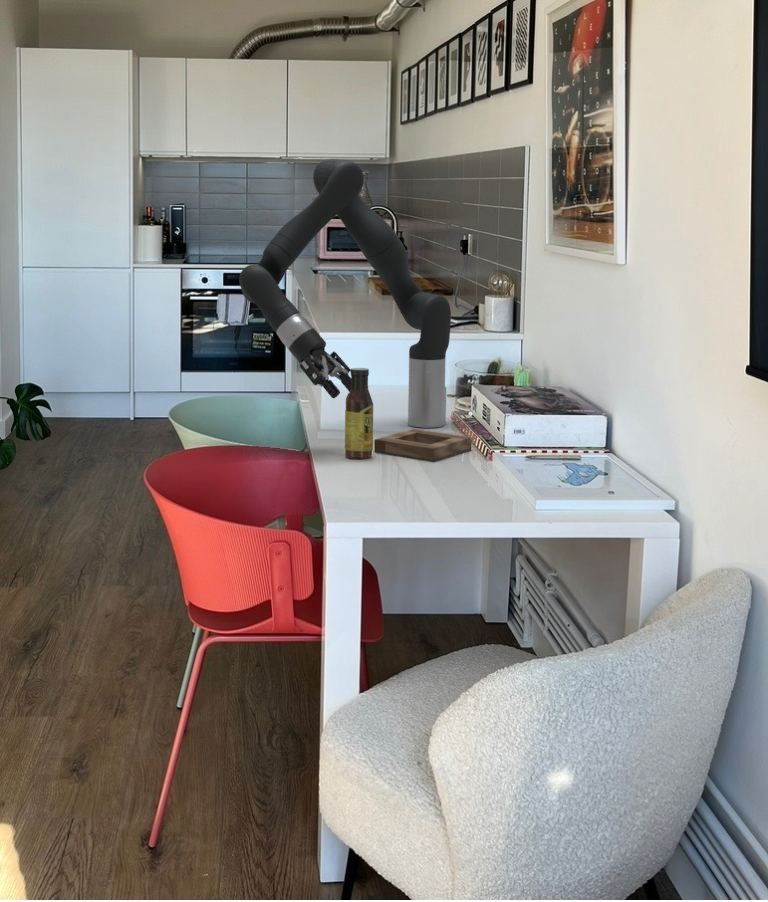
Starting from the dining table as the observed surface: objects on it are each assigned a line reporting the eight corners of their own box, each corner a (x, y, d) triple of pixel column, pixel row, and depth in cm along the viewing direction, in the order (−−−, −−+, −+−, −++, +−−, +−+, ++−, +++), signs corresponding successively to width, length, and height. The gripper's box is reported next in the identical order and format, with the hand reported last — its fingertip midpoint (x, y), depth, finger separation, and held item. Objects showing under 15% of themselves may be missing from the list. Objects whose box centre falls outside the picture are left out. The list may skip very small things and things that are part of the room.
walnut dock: (413, 441, 288) (413, 428, 287) (471, 450, 279) (471, 437, 278) (374, 452, 275) (374, 439, 274) (433, 461, 266) (433, 448, 265)
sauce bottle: (369, 460, 266) (370, 371, 262) (341, 459, 268) (342, 370, 263) (375, 454, 273) (376, 367, 269) (348, 453, 274) (349, 366, 270)
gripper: (295, 330, 263) (342, 386, 261) (326, 324, 276) (371, 378, 273) (274, 353, 266) (320, 408, 264) (306, 346, 279) (350, 399, 277)
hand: (346, 393), depth 269 cm, fingers open, 8 cm apart
